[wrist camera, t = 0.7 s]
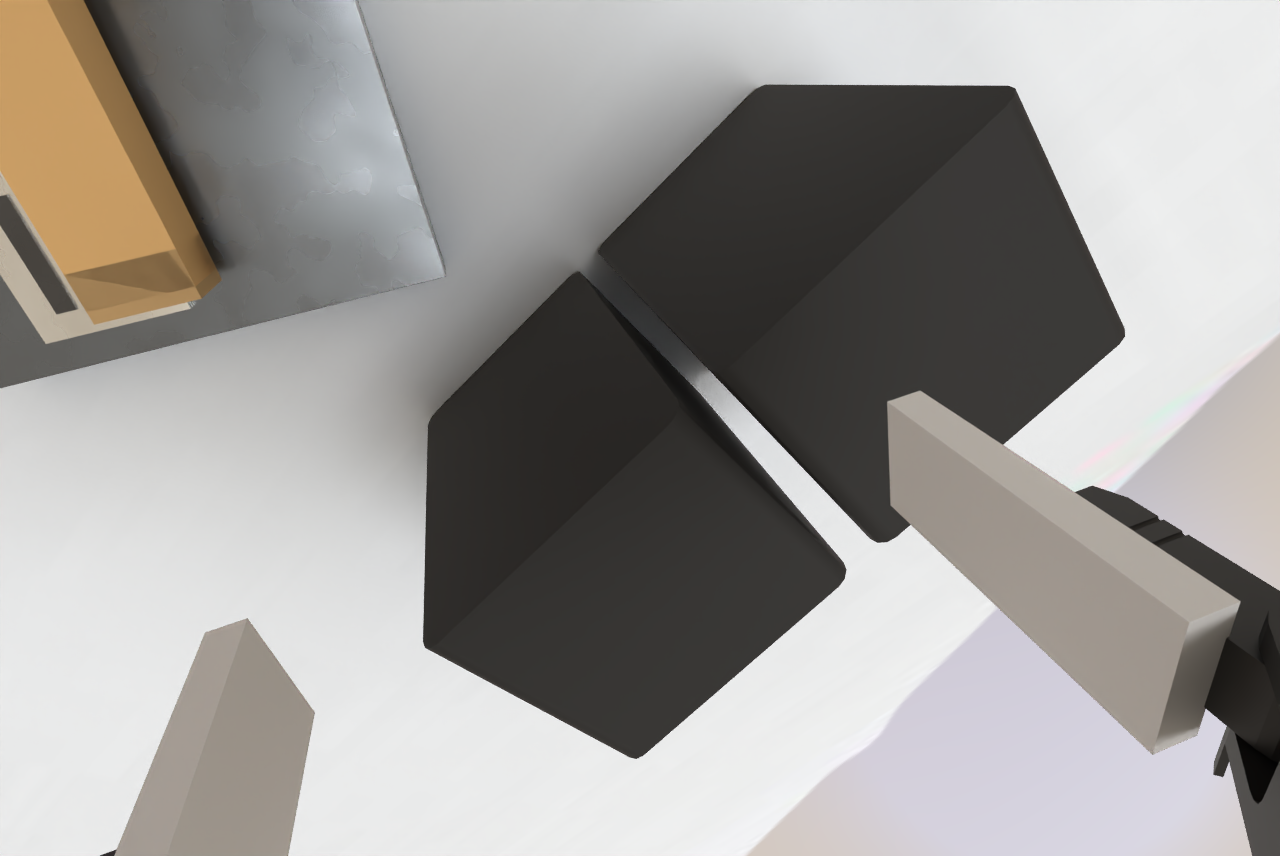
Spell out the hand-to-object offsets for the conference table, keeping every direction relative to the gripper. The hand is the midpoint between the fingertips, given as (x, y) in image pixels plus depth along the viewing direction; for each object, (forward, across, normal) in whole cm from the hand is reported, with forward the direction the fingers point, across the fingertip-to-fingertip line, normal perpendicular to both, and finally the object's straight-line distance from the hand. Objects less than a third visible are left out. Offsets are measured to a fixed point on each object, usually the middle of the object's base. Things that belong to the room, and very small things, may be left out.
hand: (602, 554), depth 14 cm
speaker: (+26, +7, -6) cm, 27 cm away
